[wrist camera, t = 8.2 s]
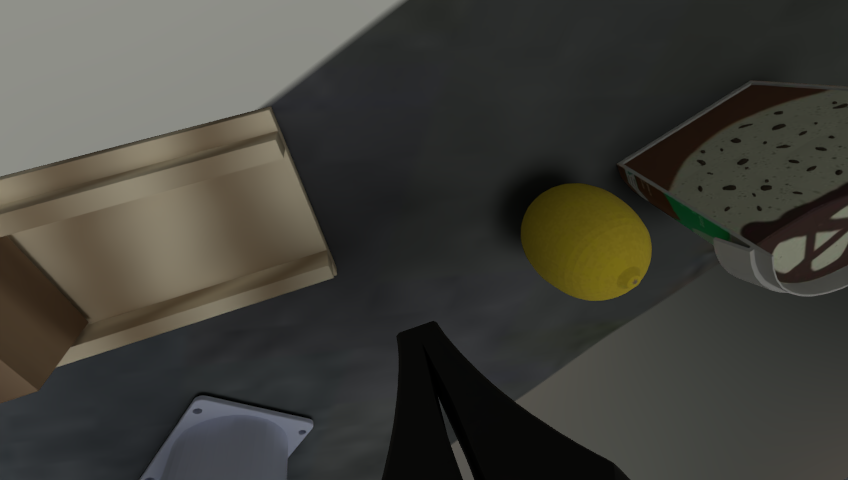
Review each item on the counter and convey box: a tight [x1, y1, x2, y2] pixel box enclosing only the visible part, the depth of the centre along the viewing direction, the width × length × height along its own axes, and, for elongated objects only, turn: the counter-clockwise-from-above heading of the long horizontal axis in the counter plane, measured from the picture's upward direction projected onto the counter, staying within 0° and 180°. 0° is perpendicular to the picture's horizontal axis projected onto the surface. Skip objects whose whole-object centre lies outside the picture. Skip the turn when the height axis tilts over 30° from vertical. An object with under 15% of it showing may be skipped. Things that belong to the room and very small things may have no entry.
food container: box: [617, 80, 848, 296], centre depth 20 cm, size 12×6×10 cm, turn 119°
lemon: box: [521, 183, 652, 301], centre depth 20 cm, size 6×6×8 cm
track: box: [0, 106, 337, 367], centre depth 16 cm, size 18×9×5 cm, turn 102°
